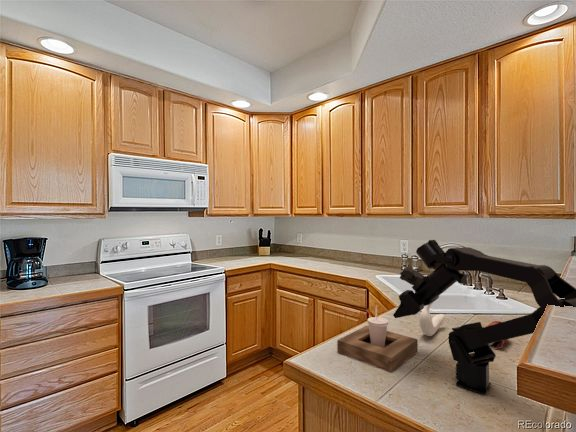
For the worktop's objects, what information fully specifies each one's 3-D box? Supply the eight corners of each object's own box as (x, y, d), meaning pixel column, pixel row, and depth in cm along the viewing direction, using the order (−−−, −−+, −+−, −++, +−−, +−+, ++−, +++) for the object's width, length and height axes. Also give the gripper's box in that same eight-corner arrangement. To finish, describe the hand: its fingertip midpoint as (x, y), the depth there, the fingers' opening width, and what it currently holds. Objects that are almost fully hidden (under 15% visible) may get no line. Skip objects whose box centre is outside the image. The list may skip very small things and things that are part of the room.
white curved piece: (445, 328, 118) (445, 290, 118) (431, 344, 104) (431, 300, 104) (431, 325, 121) (431, 288, 122) (416, 341, 107) (416, 298, 107)
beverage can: (512, 341, 106) (512, 322, 106) (503, 352, 98) (503, 331, 98) (488, 336, 111) (488, 317, 111) (478, 345, 103) (477, 325, 103)
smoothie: (378, 345, 102) (378, 302, 102) (393, 352, 97) (392, 307, 97) (363, 349, 99) (362, 305, 99) (377, 357, 94) (377, 310, 94)
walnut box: (417, 351, 98) (417, 339, 98) (391, 372, 85) (391, 357, 85) (366, 336, 111) (366, 325, 111) (337, 352, 98) (337, 340, 98)
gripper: (427, 256, 98) (393, 286, 105) (405, 263, 84) (368, 297, 91) (455, 284, 93) (418, 314, 100) (437, 296, 79) (395, 330, 86)
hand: (400, 313), depth 94 cm, fingers open, 9 cm apart
